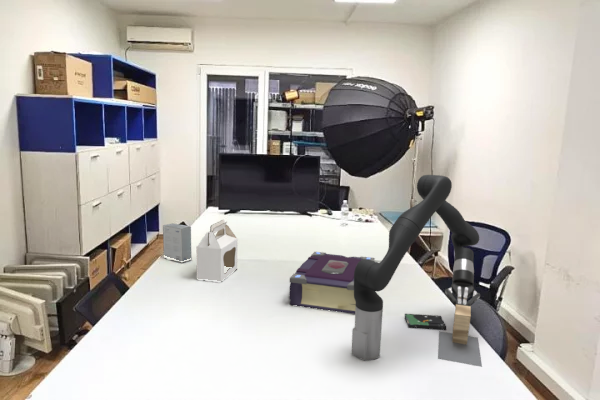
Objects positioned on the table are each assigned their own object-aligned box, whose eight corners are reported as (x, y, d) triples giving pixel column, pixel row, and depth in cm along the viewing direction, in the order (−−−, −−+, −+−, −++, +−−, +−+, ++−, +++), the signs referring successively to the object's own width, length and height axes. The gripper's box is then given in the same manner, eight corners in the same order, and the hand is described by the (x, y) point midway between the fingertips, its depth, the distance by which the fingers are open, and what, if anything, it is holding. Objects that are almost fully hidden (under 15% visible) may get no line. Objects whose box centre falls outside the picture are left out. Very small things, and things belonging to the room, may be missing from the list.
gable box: (220, 283, 218) (220, 228, 213) (196, 280, 221) (195, 225, 216) (237, 269, 239) (237, 219, 234) (214, 267, 242) (214, 217, 237)
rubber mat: (481, 368, 146) (482, 366, 146) (437, 360, 150) (437, 358, 150) (477, 339, 166) (478, 337, 166) (439, 332, 171) (439, 331, 171)
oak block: (466, 344, 161) (470, 316, 154) (452, 342, 162) (455, 314, 155) (466, 334, 165) (470, 306, 158) (452, 332, 166) (455, 304, 159)
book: (285, 305, 193) (286, 274, 191) (311, 274, 236) (312, 248, 234) (361, 316, 185) (363, 284, 182) (373, 281, 227) (375, 255, 225)
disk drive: (440, 321, 182) (403, 319, 183) (440, 315, 182) (404, 313, 183) (446, 333, 172) (407, 330, 173) (447, 326, 171) (408, 323, 172)
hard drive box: (192, 260, 253) (191, 226, 249) (181, 263, 246) (181, 228, 243) (173, 255, 261) (172, 222, 258) (163, 258, 254) (162, 225, 251)
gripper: (445, 266, 170) (442, 308, 160) (482, 271, 166) (481, 314, 156) (444, 275, 176) (441, 316, 166) (480, 280, 172) (479, 322, 162)
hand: (461, 315), depth 161 cm, fingers closed
